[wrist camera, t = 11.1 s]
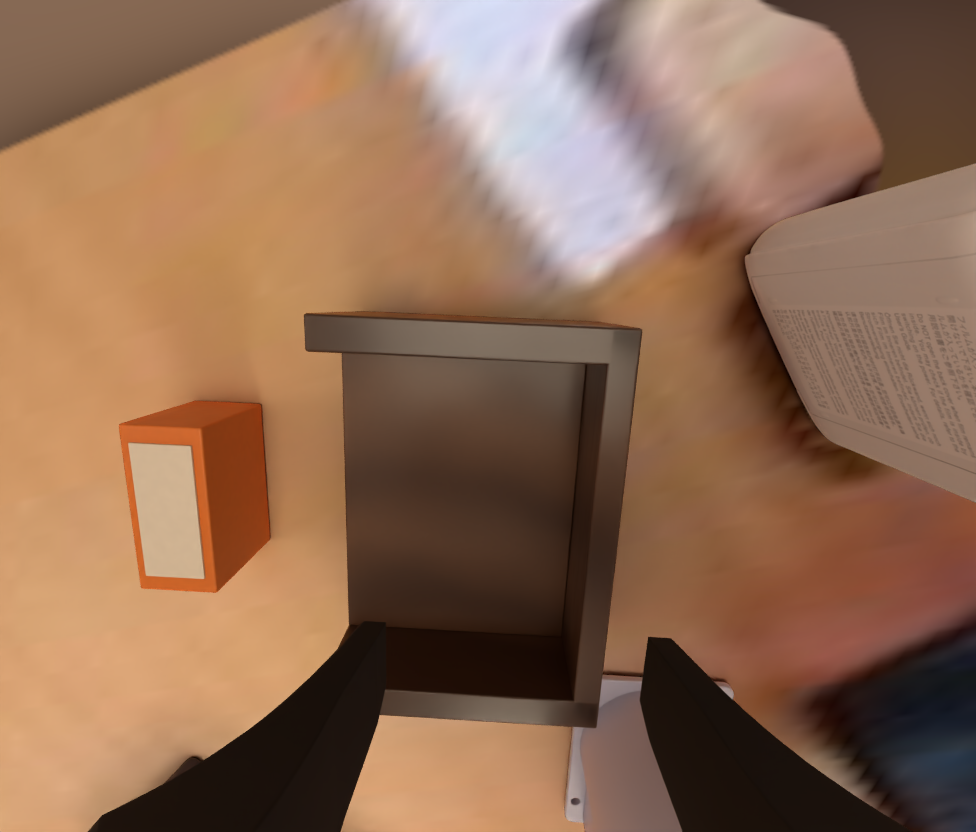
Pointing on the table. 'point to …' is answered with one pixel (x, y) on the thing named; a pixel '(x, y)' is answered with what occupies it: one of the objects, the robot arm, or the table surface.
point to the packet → (196, 493)
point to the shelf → (484, 505)
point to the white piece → (882, 322)
